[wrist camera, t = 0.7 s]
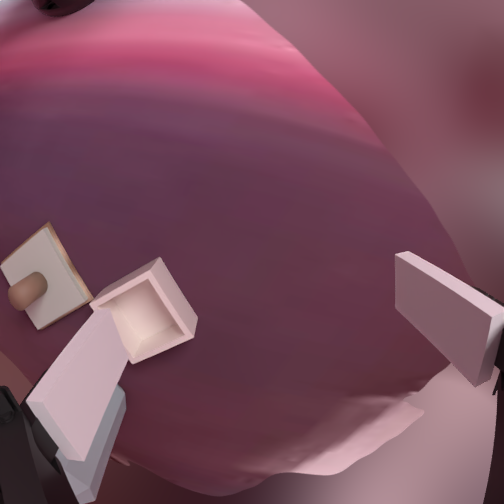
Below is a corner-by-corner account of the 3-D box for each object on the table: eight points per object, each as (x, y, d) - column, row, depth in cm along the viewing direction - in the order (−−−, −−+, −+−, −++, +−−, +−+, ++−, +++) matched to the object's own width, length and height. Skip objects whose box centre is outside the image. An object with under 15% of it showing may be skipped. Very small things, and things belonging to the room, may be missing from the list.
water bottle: (119, 419, 48) (83, 529, 24) (72, 392, 46) (17, 493, 22) (137, 387, 46) (96, 512, 22) (84, 357, 44) (17, 469, 20)
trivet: (2, 261, 39) (1, 262, 38) (49, 221, 38) (47, 222, 37) (42, 328, 42) (41, 330, 42) (93, 298, 41) (92, 299, 41)
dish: (103, 288, 41) (89, 304, 36) (159, 256, 40) (149, 269, 35) (141, 343, 44) (132, 364, 38) (197, 317, 43) (193, 337, 38)
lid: (4, 264, 38) (-23, 278, 31) (47, 226, 38) (19, 238, 31) (41, 326, 42) (19, 348, 35) (88, 298, 41) (67, 320, 34)
